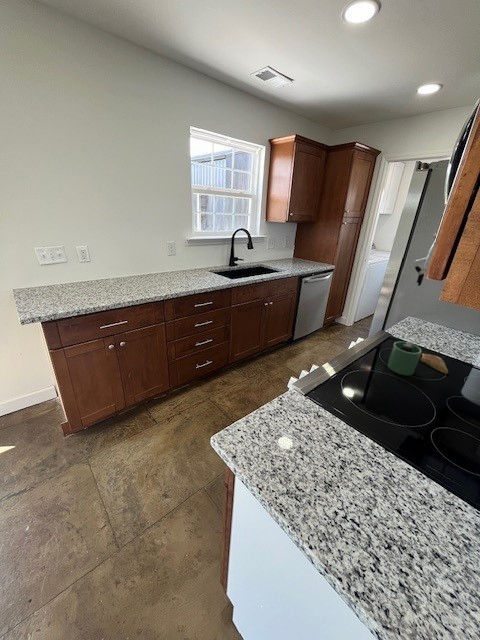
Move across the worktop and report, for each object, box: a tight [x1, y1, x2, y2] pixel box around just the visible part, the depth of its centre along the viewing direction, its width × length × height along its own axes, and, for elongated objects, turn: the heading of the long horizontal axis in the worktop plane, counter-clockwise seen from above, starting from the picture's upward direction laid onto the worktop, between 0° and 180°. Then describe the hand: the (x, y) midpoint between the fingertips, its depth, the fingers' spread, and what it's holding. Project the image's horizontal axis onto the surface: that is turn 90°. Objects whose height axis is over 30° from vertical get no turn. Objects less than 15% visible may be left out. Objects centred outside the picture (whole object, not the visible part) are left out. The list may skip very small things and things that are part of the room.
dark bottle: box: [402, 339, 413, 353], centre depth 95 cm, size 3×3×11 cm
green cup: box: [387, 341, 422, 376], centre depth 96 cm, size 9×9×9 cm
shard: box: [420, 352, 449, 375], centre depth 100 cm, size 11×8×2 cm
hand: (434, 287), depth 96 cm, fingers open, 9 cm apart
